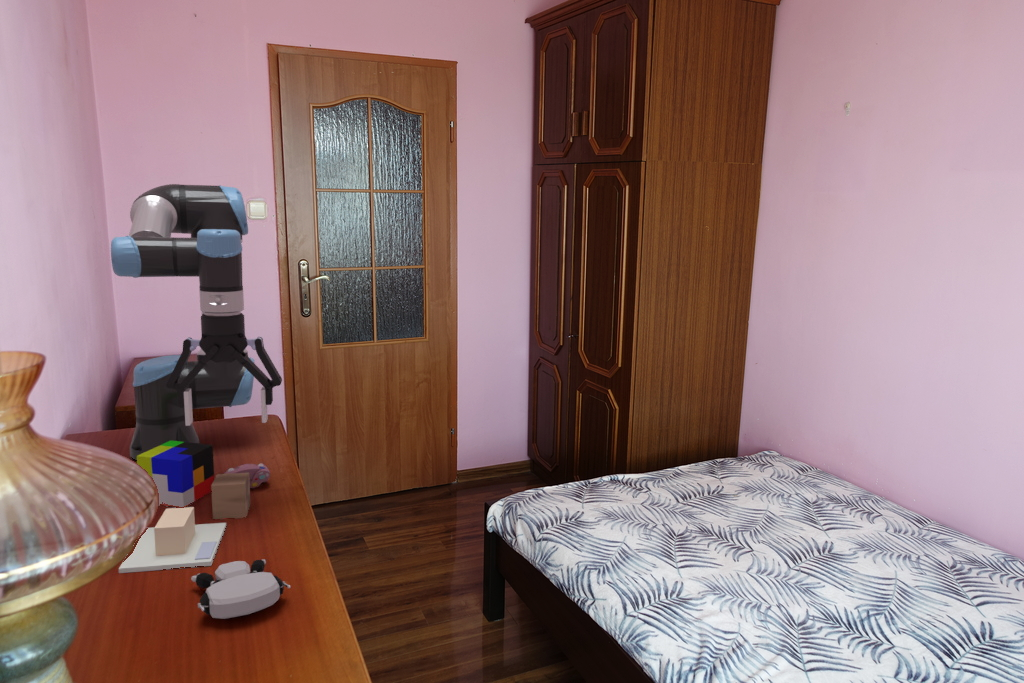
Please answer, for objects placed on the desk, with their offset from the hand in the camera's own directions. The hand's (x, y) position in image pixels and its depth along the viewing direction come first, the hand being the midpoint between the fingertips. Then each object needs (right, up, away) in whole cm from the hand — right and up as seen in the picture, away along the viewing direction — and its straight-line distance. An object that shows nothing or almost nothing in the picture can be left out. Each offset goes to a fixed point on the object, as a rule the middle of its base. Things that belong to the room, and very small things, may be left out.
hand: (227, 422), depth 132 cm
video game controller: (-2, -16, +15) cm, 23 cm away
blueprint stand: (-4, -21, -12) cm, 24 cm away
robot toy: (+13, -24, -27) cm, 38 cm away
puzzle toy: (-15, -17, +10) cm, 24 cm away
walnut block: (-1, -18, +4) cm, 19 cm away
